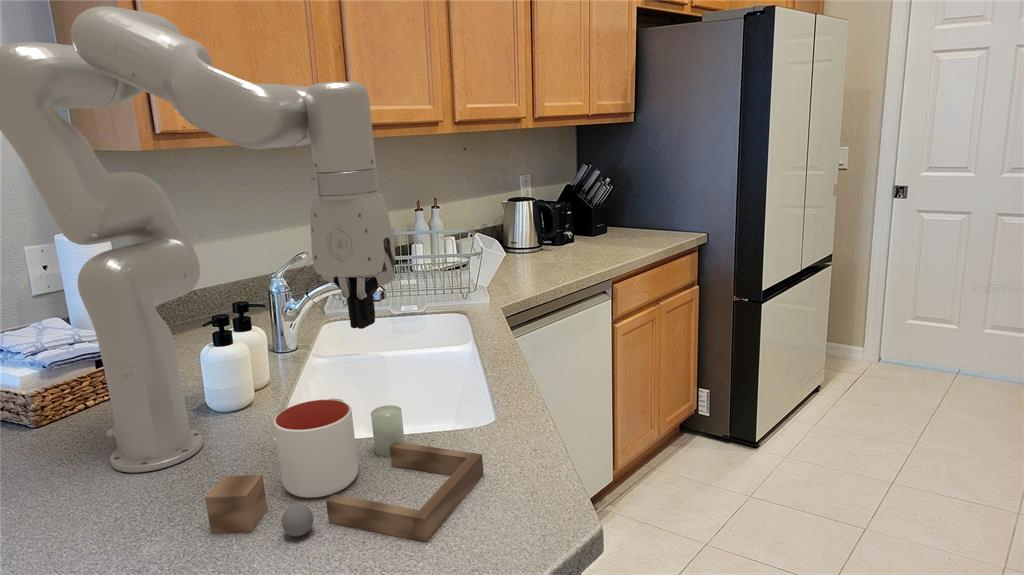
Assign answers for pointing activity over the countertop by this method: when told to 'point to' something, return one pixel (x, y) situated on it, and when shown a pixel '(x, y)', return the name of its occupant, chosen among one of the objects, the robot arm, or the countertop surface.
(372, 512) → the bay
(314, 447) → the cup
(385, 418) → the jar
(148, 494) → the countertop surface
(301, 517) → the grey ball
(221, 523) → the walnut block
